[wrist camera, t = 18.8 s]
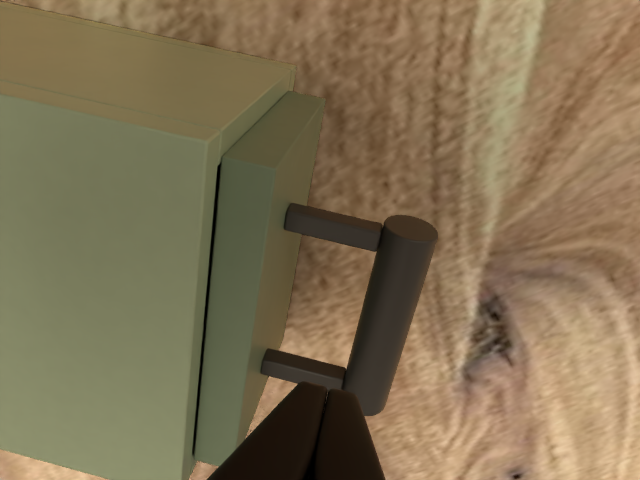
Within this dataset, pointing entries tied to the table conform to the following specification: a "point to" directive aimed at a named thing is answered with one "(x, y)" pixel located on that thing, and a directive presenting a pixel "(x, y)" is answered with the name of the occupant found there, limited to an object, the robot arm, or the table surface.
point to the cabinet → (111, 235)
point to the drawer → (292, 279)
